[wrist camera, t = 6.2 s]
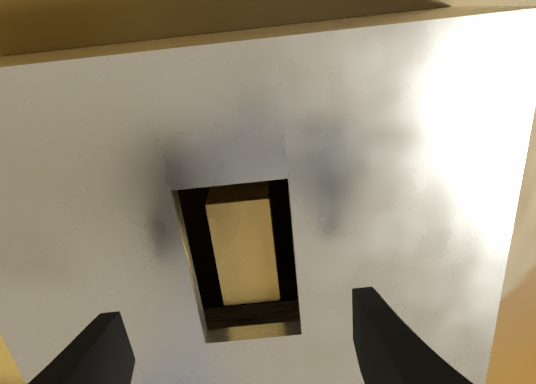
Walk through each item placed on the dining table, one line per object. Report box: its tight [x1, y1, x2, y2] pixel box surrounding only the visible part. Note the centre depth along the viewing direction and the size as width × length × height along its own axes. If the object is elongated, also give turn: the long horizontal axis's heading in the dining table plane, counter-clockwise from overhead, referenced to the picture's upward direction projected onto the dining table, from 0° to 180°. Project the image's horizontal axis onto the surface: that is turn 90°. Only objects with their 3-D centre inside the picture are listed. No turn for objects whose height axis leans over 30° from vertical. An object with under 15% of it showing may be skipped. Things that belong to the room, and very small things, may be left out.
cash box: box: [0, 6, 536, 384], centre depth 18 cm, size 16×20×6 cm
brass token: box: [205, 181, 280, 306], centre depth 19 cm, size 5×2×5 cm, turn 6°
